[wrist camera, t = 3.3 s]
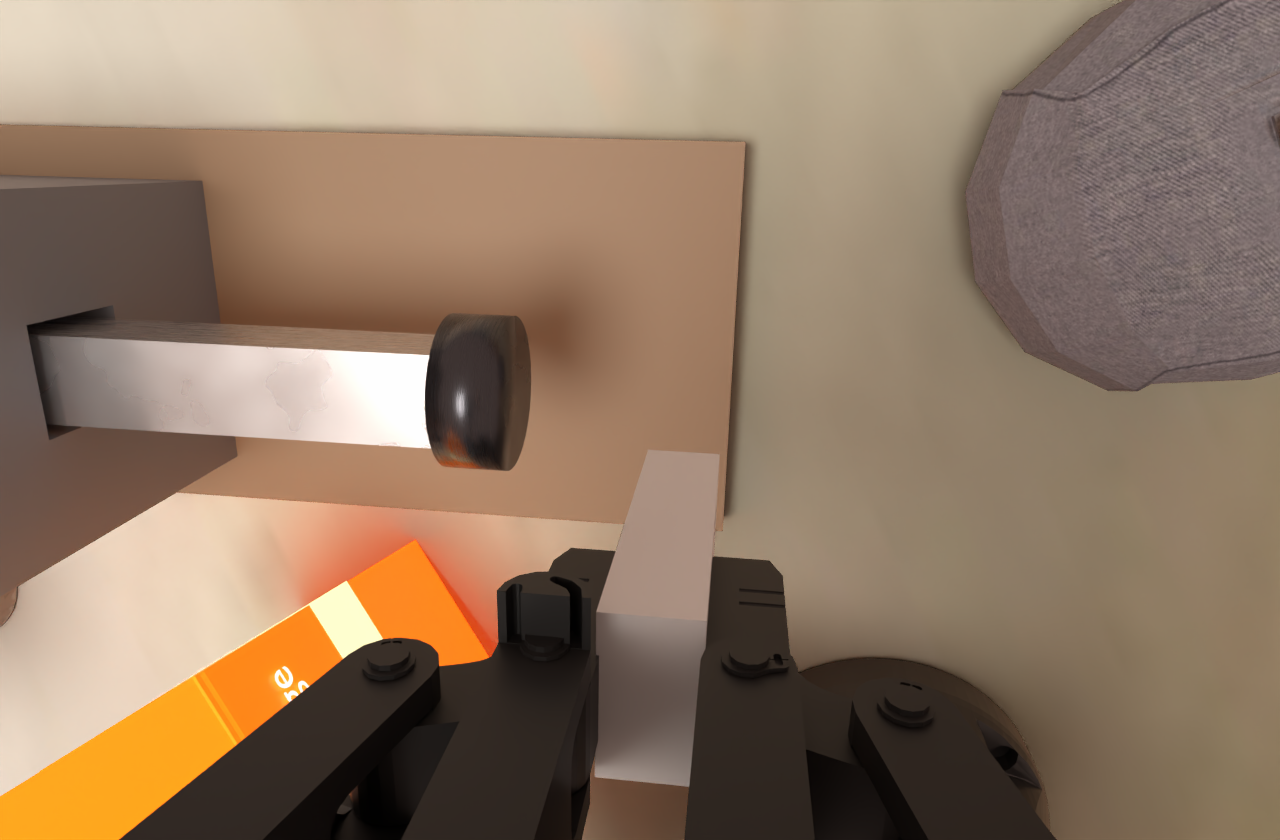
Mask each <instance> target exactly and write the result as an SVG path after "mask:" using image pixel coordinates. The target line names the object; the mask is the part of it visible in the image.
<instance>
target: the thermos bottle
mask: <svg viewBox="0 0 1280 840" xmlns="http://www.w3.org/2000/svg"><path fill="white" fill-rule="evenodd" d="M16 596H17V587H16V588H14V589H12V590H11V591H9V592H7V593H5V594H4V595H2V596H0V627H1V626H2V625H3V624H4V623H5V622H6V621H7V619H8V618H9V616H10V614H11V613H12V611H13V609H14V605H15V602H16Z"/></svg>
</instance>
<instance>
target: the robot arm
mask: <svg viewBox="0 0 1280 840" xmlns="http://www.w3.org/2000/svg"><path fill="white" fill-rule="evenodd" d="M719 458H720V454H709V453H693V452H677V451H661V450H648V452H647V455H646V458H645V461H644V464H643V467H642V470H641V474H640V477H639V480H638V483H637V486H636V489H635V492H634V495H633V499H632V502H631V505H630V508H629V511H628V514H627V517H626V520H625V524H624V527H623V530H622V533H621V536H620V539H619V542H618V545H617V549H616V551H605V550H592V549H578V548H571V549H569V550H568V551H566V552H565V553H564V554H562V555H561V556H559V557H558V558H557V559H555V560H554V561H553V563H552V565H551V568H550V570H549V572H534V573H529V574H524V575H519V576H517V577H515V578H513V579H511V580H509V581H507V582H505V583H504V584H503V585H502V586H501V587H500V588H499V589H498V590H497V608H498V639H499V643H498V645H497V647H496V649H495V651H494V653H493V655H492V657H490V658H487V659H484V660H480V661H475V662H469V663H462V664H454V665H445V666H439V654H438V652H437V651H436V650H435V649H434V648H433V646H432V645H430V644H428V643H425V642H423V641H421V640H418V639H410V638H387V639H382V640H379V641H376V642H372V643H369V644H366V645H363V646H362V647H360V648H358V649H357V650H355V651H353V652H352V653H350V654H348V655H347V656H346V657H345V658H344V659H342V660H341V661H340V662H339V663H337V664H336V665H335V666H334V667H332V668H331V669H330V670H329V671H327V672H326V673H325V674H324V675H322V676H321V677H320V678H319V679H317V680H316V681H315V682H314V683H312V684H311V685H310V686H309V687H308V688H306V689H305V690H304V691H303V692H301V693H300V694H299V695H298V696H296V697H295V698H294V699H293V700H291V701H290V702H289V703H288V704H286V705H285V706H284V707H283V708H281V709H280V710H279V711H278V712H277V713H275V714H274V715H273V716H272V717H270V718H269V719H268V720H267V721H265V722H264V723H263V724H262V725H260V726H259V727H258V728H257V729H255V730H254V731H253V732H252V733H250V734H249V735H248V736H247V737H245V738H244V739H243V740H242V741H241V742H239V743H238V744H237V745H236V746H234V747H233V748H232V749H231V750H229V751H228V752H227V753H226V754H224V755H223V756H222V757H221V758H219V759H218V760H217V761H216V762H214V763H213V764H212V765H211V766H209V767H208V768H207V769H206V770H205V771H203V772H202V773H201V774H200V775H198V776H197V777H196V778H195V779H193V780H192V781H191V782H190V783H188V784H187V785H186V786H185V787H183V788H182V789H181V790H180V791H178V792H177V793H176V794H175V795H173V796H172V797H171V798H170V799H169V800H167V801H166V802H165V803H164V804H162V805H161V806H160V807H159V808H157V809H156V810H155V811H154V812H152V813H151V814H150V815H149V816H147V817H146V818H145V819H144V820H142V821H141V822H140V823H139V824H138V825H136V826H135V827H134V828H133V829H131V830H130V831H129V832H128V833H126V834H125V835H124V836H123V837H121V838H120V839H119V840H581V839H582V835H583V830H584V826H585V822H586V818H587V813H588V809H589V805H590V772H591V768H592V764H593V760H594V756H595V777H599V778H609V779H619V780H628V781H638V782H648V783H657V784H667V785H677V786H686V787H689V795H688V806H687V818H686V829H685V840H1056V839H1055V837H1054V836H1053V835H1052V833H1051V832H1050V816H1049V808H1048V802H1047V798H1046V793H1045V789H1044V786H1043V783H1042V780H1041V777H1040V775H1039V772H1038V770H1037V768H1036V766H1035V764H1034V762H1033V760H1032V757H1031V755H1030V753H1029V751H1028V749H1027V747H1026V745H1025V743H1024V741H1023V739H1022V737H1021V735H1020V733H1019V732H1018V730H1017V729H1016V727H1015V726H1014V724H1013V723H1012V722H1011V720H1010V719H1009V718H1008V717H1007V715H1006V714H1005V713H1004V712H1003V711H1002V710H1001V709H1000V708H999V707H998V706H997V705H996V704H995V703H994V702H993V701H992V700H991V699H989V698H988V697H987V696H986V695H984V694H983V693H982V692H980V691H979V690H977V689H976V688H974V687H973V686H971V685H970V684H968V683H966V682H964V681H962V680H961V679H959V678H957V677H954V676H952V675H950V674H948V673H945V672H943V671H940V670H938V669H934V668H931V667H928V666H925V665H921V664H917V663H912V662H907V661H901V660H892V659H854V660H846V661H839V662H834V663H829V664H825V665H822V666H818V667H815V668H812V669H809V670H806V671H804V672H801V673H798V669H797V666H796V663H795V661H794V659H793V657H792V656H791V655H790V650H789V639H788V628H787V618H786V608H785V596H784V586H783V576H782V575H781V573H780V572H779V571H778V570H777V569H776V568H775V567H774V565H773V564H772V563H771V562H770V561H767V560H754V559H740V558H727V557H714V547H715V529H716V511H717V493H718V475H719Z"/></svg>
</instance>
